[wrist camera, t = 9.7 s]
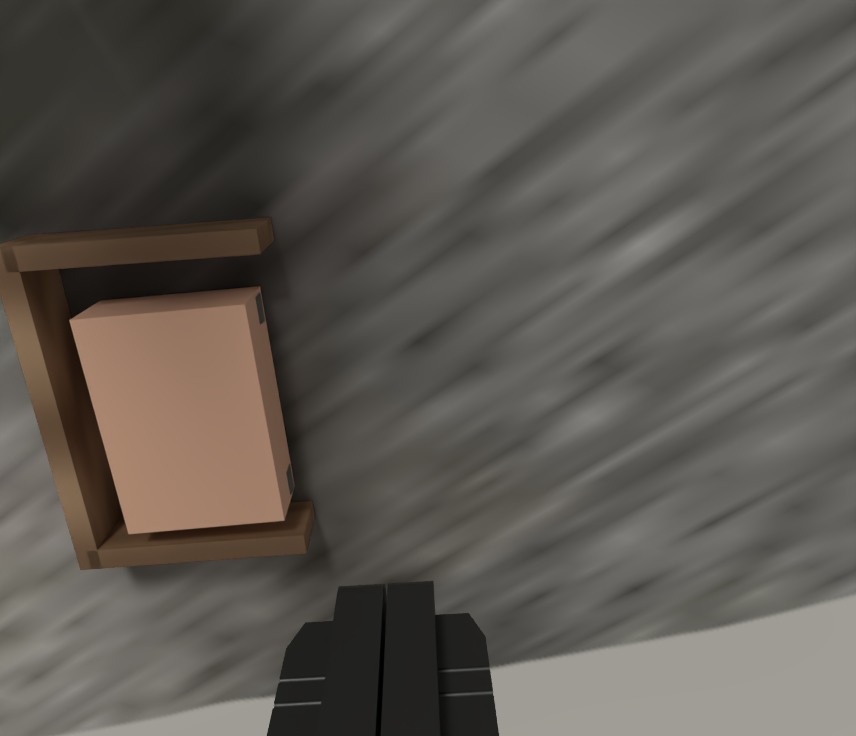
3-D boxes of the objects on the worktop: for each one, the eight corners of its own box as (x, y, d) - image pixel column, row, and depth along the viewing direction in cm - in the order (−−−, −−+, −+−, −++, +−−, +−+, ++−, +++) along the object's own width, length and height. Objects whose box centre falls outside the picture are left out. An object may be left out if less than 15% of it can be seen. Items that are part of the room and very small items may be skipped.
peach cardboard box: (102, 297, 31) (66, 320, 28) (264, 283, 31) (247, 304, 28) (153, 493, 34) (126, 534, 31) (298, 481, 34) (286, 520, 31)
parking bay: (26, 235, 30) (-14, 248, 27) (270, 217, 30) (256, 228, 27) (106, 532, 35) (80, 569, 32) (314, 517, 35) (306, 553, 32)
